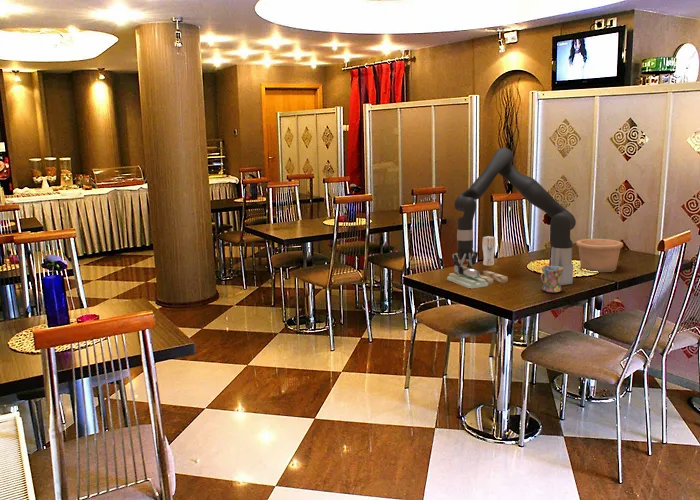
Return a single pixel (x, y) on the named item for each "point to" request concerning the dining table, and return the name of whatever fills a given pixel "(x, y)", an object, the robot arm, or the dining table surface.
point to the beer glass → (488, 250)
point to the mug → (551, 278)
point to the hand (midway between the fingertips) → (464, 273)
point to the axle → (468, 272)
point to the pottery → (599, 254)
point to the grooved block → (467, 280)
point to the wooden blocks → (493, 277)
